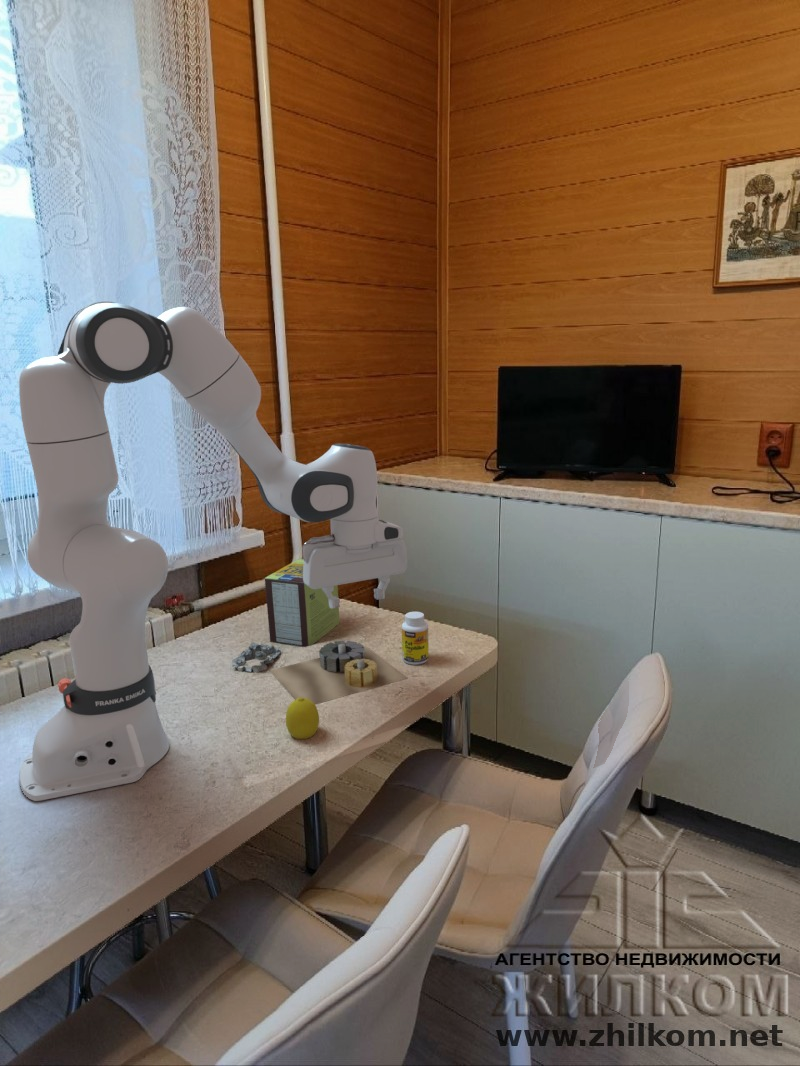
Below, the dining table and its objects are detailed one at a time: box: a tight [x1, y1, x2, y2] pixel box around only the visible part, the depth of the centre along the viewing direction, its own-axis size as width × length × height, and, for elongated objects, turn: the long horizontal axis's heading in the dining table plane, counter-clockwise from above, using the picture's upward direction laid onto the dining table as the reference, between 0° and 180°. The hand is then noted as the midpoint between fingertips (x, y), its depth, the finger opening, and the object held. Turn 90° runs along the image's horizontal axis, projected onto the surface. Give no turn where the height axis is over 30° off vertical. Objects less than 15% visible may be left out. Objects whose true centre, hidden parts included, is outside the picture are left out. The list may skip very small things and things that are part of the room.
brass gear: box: [344, 659, 377, 687], centre depth 136 cm, size 6×6×3 cm
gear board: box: [269, 644, 408, 705], centre depth 139 cm, size 22×18×6 cm
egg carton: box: [231, 641, 282, 673], centre depth 146 cm, size 11×8×4 cm
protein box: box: [264, 558, 340, 648], centre depth 162 cm, size 10×15×16 cm
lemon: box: [285, 697, 320, 740], centre depth 118 cm, size 6×6×8 cm
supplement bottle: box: [401, 611, 430, 666], centre depth 147 cm, size 6×6×10 cm
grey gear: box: [318, 640, 365, 672], centre depth 144 cm, size 9×9×3 cm
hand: (357, 602), depth 132 cm, fingers open, 8 cm apart
